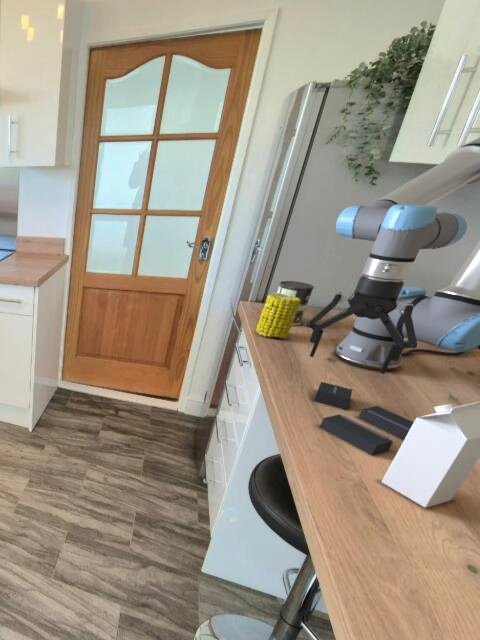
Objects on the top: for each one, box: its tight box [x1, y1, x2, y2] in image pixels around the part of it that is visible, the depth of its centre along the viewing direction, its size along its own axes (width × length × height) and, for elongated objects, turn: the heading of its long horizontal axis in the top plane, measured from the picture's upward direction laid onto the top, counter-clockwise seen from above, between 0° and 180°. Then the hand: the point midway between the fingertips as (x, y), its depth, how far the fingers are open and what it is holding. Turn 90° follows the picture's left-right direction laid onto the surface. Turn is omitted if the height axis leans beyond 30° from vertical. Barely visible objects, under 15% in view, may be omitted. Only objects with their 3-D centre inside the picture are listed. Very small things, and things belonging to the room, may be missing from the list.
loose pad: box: [313, 381, 353, 410], centre depth 109 cm, size 6×6×3 cm
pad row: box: [319, 405, 414, 456], centre depth 96 cm, size 18×11×3 cm, turn 107°
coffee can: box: [276, 280, 315, 326], centre depth 159 cm, size 10×10×14 cm
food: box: [255, 292, 301, 339], centre depth 147 cm, size 15×12×10 cm
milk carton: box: [381, 401, 480, 509], centre depth 76 cm, size 7×7×19 cm
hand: (345, 363), depth 105 cm, fingers open, 13 cm apart
